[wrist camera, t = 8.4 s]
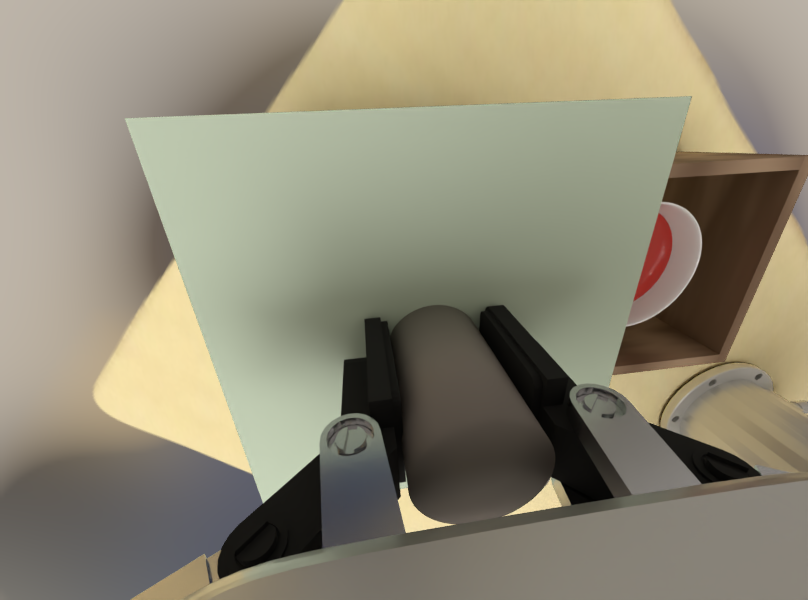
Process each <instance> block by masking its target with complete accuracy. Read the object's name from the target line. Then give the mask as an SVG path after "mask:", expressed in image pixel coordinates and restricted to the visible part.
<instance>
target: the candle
mask: <svg viewBox="0 0 808 600" xmlns="http://www.w3.org/2000/svg"><path fill="white" fill-rule="evenodd" d="M701 250H702V235H701V231H700V227H699V225H698V223H697V221H696V219H695V218H694V216H693V215H692V214H691V213H690V212H689V211H688V210H686V209H685V208H683V207H681V206H679V205H677V204H674V203H669V202H661V206H660V209H659V213H658V216H657V220H656V223H655V227H654V230H653V234H652V237H651V241H650V244H649V248H648V251H647V255H646V258H645V262H644V265H643V269H642V272H641V276H640V279H639V283H638V286H637V290H636V293H635V297H634V300H633V304H632V307H631V311H630V314H629V318H628V321H627V325H626V327H627V326H631V325H635V324H638V323H641V322H643V321H646V320H648V319H650V318H652V317H654V316H655V315H657V314H658V313H660V312H661V311H663V310H664V309H665V308H667V307H668V306H669V305H670V304H671V303H672V302H674V301H675V300H676V299H677V297H678V296H679V295H680V294H681V293H682V292H683V290H684V289H685V288H686V286H687V285H688V284H689V282H690V280H691V279H692V277H693V275H694V273H695V271H696V268H697V266H698V263H699V260H700V256H701Z"/></svg>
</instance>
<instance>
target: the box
mask: <svg viewBox="0 0 808 600" xmlns="http://www.w3.org/2000/svg"><path fill="white" fill-rule="evenodd" d="M807 176H808V155H782V154H746V153H709V152H676V154H675V157H674V161H673V164H672V168H671V171H670V175H669V178H668V182H667V185H666V188H665V192H664V195H663V199H662V202H669V203H674V204H677V205H679V206H681V207H683V208H685V209H686V210H688V211H689V212H690V213H691V214H692V215H693V216H694V218H695V219H696V221H697V223H698V225H699V227H700V231H701V235H702V250H701V256H700V260H699V263H698V266H697V268H696V271H695V273H694V275H693V277H692V279H691V280H690V282H689V284H688V285H687V286H686V288H685V289H684V290H683V292H682V293H681V294H680V295H679V296H678V297H677V299H676V300H675V301H674V302H672V303H671V304H670V305H669V306H668V307H667V308H665V309H664V310H663V311H661V312H660V313H658V314H657V315H655V316H654V317H652V318H650V319H648V320H646V321H643V322H641V323H638V324H635V325H631V326H627V327H626V328H625V332H624V335H623V339H622V342H621V346H620V349H619V353H618V356H617V360H616V363H615V367H614V370H613V374H612V375H617V374H626V373H634V372H642V371H650V370H659V369H667V368H675V367H683V366H692V365H700V364H708V363H716V362H725V360H726V357H727V355H728V353H729V351H730V348H731V346H732V344H733V342H734V339H735V337H736V335H737V333H738V331H739V328H740V326H741V324H742V322H743V319H744V317H745V315H746V313H747V310H748V308H749V306H750V304H751V301H752V299H753V297H754V295H755V293H756V290H757V288H758V286H759V284H760V281H761V279H762V277H763V275H764V272H765V270H766V268H767V266H768V263H769V261H770V259H771V257H772V255H773V252H774V250H775V248H776V246H777V243H778V241H779V239H780V237H781V234H782V232H783V230H784V228H785V225H786V223H787V221H788V219H789V217H790V214H791V212H792V210H793V208H794V205H795V203H796V201H797V198H798V196H799V194H800V192H801V190H802V187H803V185H804V183H805V181H806V179H807Z"/></svg>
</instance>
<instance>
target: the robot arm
mask: <svg viewBox="0 0 808 600" xmlns="http://www.w3.org/2000/svg"><path fill="white" fill-rule="evenodd" d="M364 322H365V342H366V357H364V358H355V359H346V360H344V366H343V385H342V404H341V416H340V417H338V418H336V419H334V420H333V421H331V422H330V423H329V424H328V425H327V426H326V427H325V428H324V430H323V432H322V434H321V436H320V442H319V446H320V454H319V455H318V456H316V457H315V458H314V459H313V460H312V461H311V462H310V463H308V464H307V465H306V466H305V467H304V468H303V469H302V470H300V471H299V472H298V473H297V474H296V475H295V476H294V477H293V478H291V479H290V480H289V481H288V482H287V483H286V484H285V485H283V486H282V487H281V488H280V489H279V490H278V491H277V492H275V493H274V494H273V495H272V496H271V497H270V498H269V499H268V500H266V501H265V502H264V503H263V504H262V505H261V506H260V507H258V508H257V509H256V510H255V511H254V512H253V513H252V514H251V515H250V516H248V517H247V518H246V519H245V520H244V521H243V522H241V523H240V524H239V525H238V526H237V527H236V528H235V530H234V531H233V532H232V533H231V534H230V535H229V537H228V538H227V540H226V541H225V543H224V545H223V546H222V549H221V550H220V551H219V552H217V553H215V554H214V555H212V556H211V557H209V558H206V556H205V554H204V555H202V556H200V557H199V558H197V559H196V560H194V561H192V562H191V563H189V564H187V565H186V566H184V567H183V568H181V569H179V570H178V571H176V572H174V573H173V574H171V575H170V576H168V577H166V578H165V579H163V580H162V581H160V582H158V583H157V584H155V585H153V586H152V587H150V588H149V589H147V590H145V591H144V592H142V593H141V594H139V595H137V596H136V597H134V598H132V599H131V600H808V415H806V414H805V413H808V402H807V401H804V400H800V401H792V402H789V401H788V400H786V399H784V398H783V397H781V396H779V395H778V394H776V393H774V392H773V382H772V380H771V378H770V376H769V375H768V374H767V373H766V372H765V371H763V370H761V369H760V368H758V367H756V366H754V365H751V364H748V363H731V364H725V365H721V366H718V367H715V368H712V369H710V370H708V371H705V372H704V373H702V374H700V375H698V376H696V377H695V378H693V379H692V380H691V381H689V382H688V383H686V384H685V385H684V386H683V387H682V388H681V389H680V390H679V391H677V393H676V394H675V395H674V396H673V397H672V398H671V400H670V401H669V403H668V404H667V406H666V407H665V410H664V412H663V414H662V418H661V422H660V427H659V426H657V425H654V424H651V423H648V422H647V421H646V420H645V419H644V418H643V416H642V415H641V414H640V413H639V412H638V411H637V410H636V408H635V407H634V406H633V405H632V404H631V403H630V402H629V401H628V400H627V399H626V398H625V397H624V396H623V395H622V394H620V393H618V392H617V391H615V390H613V389H610V388H608V387H605V386H602V385H598V384H587V383H586V384H580V385H576V384H575V382H574V381H573V380H572V379H571V378H570V377H569V376H568V375H567V374H566V372H565V371H564V370H563V369H562V368H561V367H560V366H559V365H558V364H557V363H556V361H555V360H554V359H553V358H552V357H551V356H550V355H549V354H548V353H547V352H546V350H545V349H544V348H543V347H542V346H541V345H540V344H539V343H538V342H537V341H536V340H535V339H534V338H533V337H532V336H531V335H530V333H529V332H528V331H527V330H526V329H525V328H524V327H523V326H522V325H521V324H520V322H519V321H518V320H517V319H516V318H515V317H514V316H513V315H512V314H511V312H510V311H509V310H508V309H507V308H506V307H505V306H504V305H497V306H487V307H486V309H485V311H481V313H480V325H479V331H480V333H481V335H482V336H483V338H484V339H485V341H486V342H487V344H488V345H489V347H490V348H491V350H492V352H493V353H494V355H495V356H496V358H497V359H498V361H499V362H500V364H501V365H502V367H503V369H504V370H505V372H506V373H507V375H508V376H509V378H510V379H511V381H512V382H513V384H514V386H515V387H516V389H517V390H518V392H519V393H520V395H521V396H522V398H523V399H524V401H525V403H526V404H527V406H528V407H529V409H530V410H531V412H532V413H533V415H534V416H535V418H536V420H537V421H538V423H539V424H540V426H541V427H542V429H543V430H544V432H545V433H546V435H547V436H548V438H549V440H550V441H551V443H552V445H553V447H554V451H555V466H554V469H553V473H552V475H551V477H552V478H551V480H552V484H553V487H554V490H555V492H556V494H557V496H558V499H559V501H560V503H561V505H562V507H558V508H552V509H546V510H540V511H534V512H528V513H522V514H516V515H510V516H504V517H498V518H492V519H486V520H480V521H474V522H468V523H463V524H457V525H451V526H445V527H439V528H434V529H428V530H422V531H416V532H410V533H406V532H405V528H404V524H403V520H402V516H401V512H400V508H399V503H398V499H399V498H400V497H401V495H400V483H402V482H406V473H405V465H404V458H403V451H402V434H403V424H402V408H401V398H400V391H399V385H398V379H397V373H396V368H395V362H394V357H393V351H392V345H391V340H390V334H389V328H388V323H387V321H381V318H380V317H378V318H368V319H364Z"/></svg>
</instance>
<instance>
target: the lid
mask: <svg viewBox="0 0 808 600" xmlns="http://www.w3.org/2000/svg"><path fill="white" fill-rule="evenodd" d="M691 98H692V96H686V97H660V98H634V99H609V100H583V101H558V102H532V103H507V104H481V105H456V106H430V107H405V108H379V109H354V110H328V111H303V112H277V113H254V114H227V115H201V116H177V117H176V116H175V117H152V118H151V117H150V118H125V121H126V123H127V126H128V129H129V131H130V134H131V137H132V140H133V143H134V146H135V148H136V151H137V154H138V156H139V159H140V162H141V165H142V168H143V170H144V173H145V176H146V179H147V182H148V184H149V187H150V190H151V193H152V195H153V198H154V201H155V204H156V207H157V209H158V212H159V215H160V218H161V221H162V223H163V226H164V229H165V232H166V234H167V237H168V240H169V243H170V246H171V248H172V251H173V254H174V257H175V260H176V262H177V265H178V268H179V271H180V273H181V276H182V279H183V282H184V285H185V287H186V290H187V293H188V296H189V298H190V301H191V304H192V307H193V310H194V312H195V315H196V318H197V321H198V323H199V326H200V329H201V332H202V335H203V337H204V340H205V343H206V346H207V348H208V351H209V354H210V357H211V360H212V362H213V365H214V368H215V371H216V373H217V376H218V379H219V382H220V385H221V387H222V390H223V393H224V396H225V398H226V401H227V404H228V407H229V410H230V412H231V415H232V418H233V421H234V424H235V426H236V429H237V432H238V435H239V437H240V440H241V443H242V446H243V449H244V451H245V454H246V457H247V460H248V462H249V465H250V468H251V471H252V474H253V476H254V479H255V482H256V485H257V487H258V490H259V493H260V495H261V498H262V501H263V503H264V502H265V501H266V500H268V499H269V498H270V497H271V496H272V495H273V494H274V493H275V492H277V491H278V490H279V489H280V488H281V487H282V486H283V485H285V484H286V483H287V482H288V481H289V480H290V479H291V478H293V477H294V476H295V475H296V474H297V473H298V472H299V471H300V470H302V469H303V468H304V467H305V466H306V465H307V464H308V463H310V462H311V461H312V460H313V459H314V458H315V457H316V456H318V455H319V454H320V446H319V442H320V436H321V434H322V432H323V430H324V428H325V427H326V426H327V425H328V424H329V423H330V422H331V421H333V420H334V419H336V418H338V417H340V416H341V404H342V385H343V366H344V360H346V359H355V358H364V357H366V342H365V322H364V319H368V318H378V317H380V318H381V321H387V323H388V328H389V334H390V340H391V345H392V351H393V357H394V362H395V368H396V373H397V379H398V385H399V391H400V398H401V408H402V424H403V434H402V451H403V458H404V465H405V473H406V482H402V483H400V489H402V488H408V491H409V496H410V499H411V501H412V503H413V504H414V506H415V507H416V508H417V509H418V510H419V511H420V512H421V513H422V514H424V515H425V516H427V517H429V518H431V519H433V520H436V521H439V522H443V523H449V524H463V523H468V522H474V521H480V520H486V519H492V518H498V517H502V516H505V515H507V514H509V513H511V512H513V511H515V510H517V509H519V508H521V507H522V506H524V505H525V504H527V503H528V502H529V501H530V500H532V499H533V498H534V497H535V496H536V495H537V494H538V493H539V492H540V491H541V490H542V489H543V488H544V486H545V485H546V484H547V482H548V481H549V479H550V477H551V475H552V473H553V469H554V466H555V451H554V447H553V445H552V443H551V441H550V440H549V438H548V436H547V435H546V433H545V432H544V430H543V429H542V427H541V426H540V424H539V423H538V421H537V420H536V418H535V416H534V415H533V413H532V412H531V410H530V409H529V407H528V406H527V404H526V403H525V401H524V399H523V398H522V396H521V395H520V393H519V392H518V390H517V389H516V387H515V386H514V384H513V382H512V381H511V379H510V378H509V376H508V375H507V373H506V372H505V370H504V369H503V367H502V365H501V364H500V362H499V361H498V359H497V358H496V356H495V355H494V353H493V352H492V350H491V348H490V347H489V345H488V344H487V342H486V341H485V339H484V338H483V336H482V335H481V333H480V331H479V325H480V313H481V311H485V309H486V307H487V306H497V305H504V306H505V307H506V308H507V309H508V310H509V311H510V312H511V314H512V315H513V316H514V317H515V318H516V319H517V320H518V321H519V322H520V324H521V325H522V326H523V327H524V328H525V329H526V330H527V331H528V332H529V333H530V335H531V336H532V337H533V338H534V339H535V340H536V341H537V342H538V343H539V344H540V345H541V346H542V347H543V348H544V349H545V350H546V352H547V353H548V354H549V355H550V356H551V357H552V358H553V359H554V360H555V361H556V363H557V364H558V365H559V366H560V367H561V368H562V369H563V370H564V371H565V372H566V374H567V375H568V376H569V377H570V378H571V379H572V380H573V381H574V382H575V384H576V385H580V384H586V383H587V384H598V385H602V386H605V387H608V388H609V384H610V381H611V377H612V374H613V370H614V367H615V363H616V360H617V356H618V353H619V349H620V346H621V342H622V339H623V335H624V332H625V328H626V325H627V321H628V318H629V314H630V311H631V307H632V304H633V300H634V297H635V293H636V290H637V286H638V283H639V279H640V276H641V272H642V269H643V265H644V262H645V258H646V255H647V251H648V248H649V244H650V241H651V237H652V234H653V230H654V227H655V223H656V220H657V216H658V213H659V209H660V206H661V202H662V199H663V195H664V192H665V188H666V185H667V182H668V178H669V175H670V171H671V168H672V164H673V161H674V157H675V154H676V150H677V147H678V143H679V140H680V136H681V133H682V129H683V126H684V122H685V119H686V115H687V112H688V108H689V105H690V101H691Z"/></svg>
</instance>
